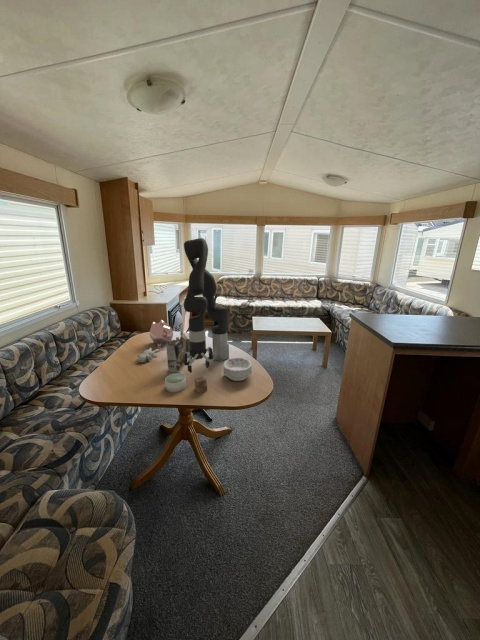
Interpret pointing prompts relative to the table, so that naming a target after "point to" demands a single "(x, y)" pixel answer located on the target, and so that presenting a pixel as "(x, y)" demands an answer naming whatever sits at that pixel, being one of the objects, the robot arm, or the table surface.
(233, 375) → the white purple floral bowl
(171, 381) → the ceramic bowl
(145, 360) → the bunny figurine
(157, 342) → the piggy bank
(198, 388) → the walnut block
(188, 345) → the ceramic cottage
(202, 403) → the table surface
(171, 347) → the coffee box
